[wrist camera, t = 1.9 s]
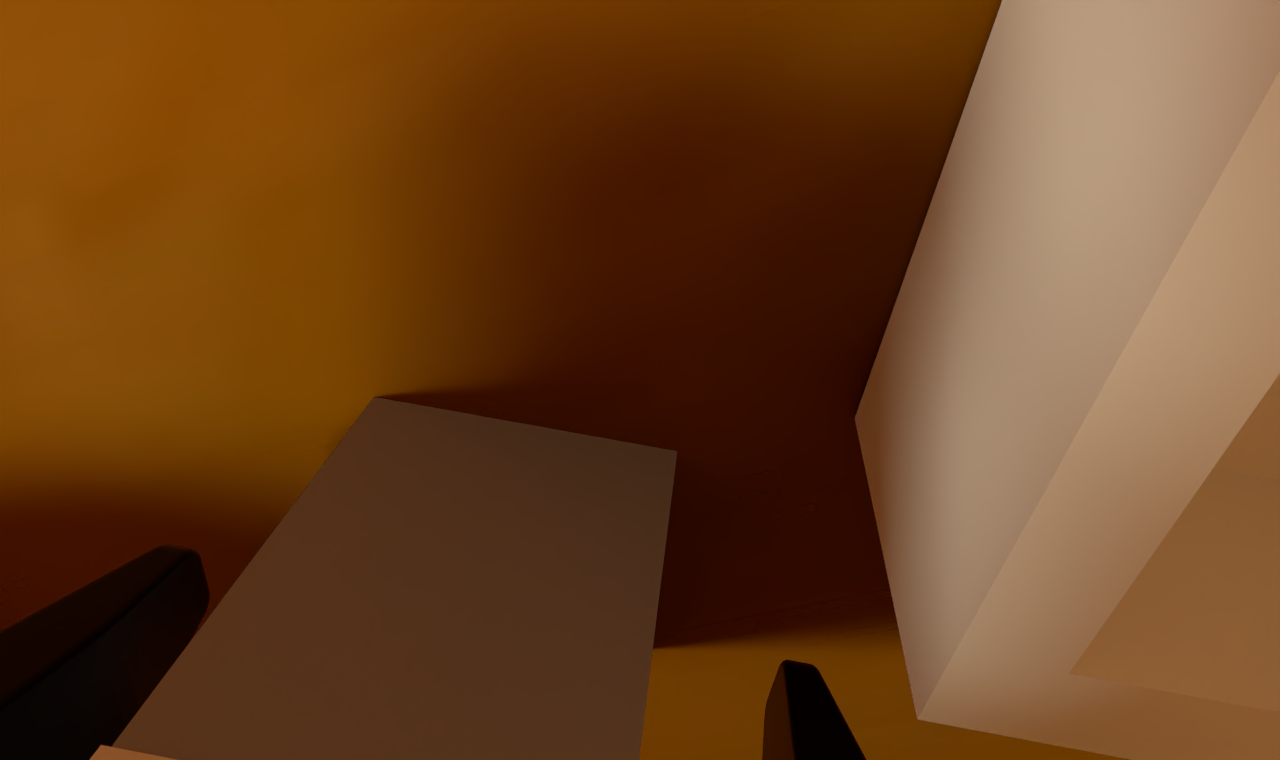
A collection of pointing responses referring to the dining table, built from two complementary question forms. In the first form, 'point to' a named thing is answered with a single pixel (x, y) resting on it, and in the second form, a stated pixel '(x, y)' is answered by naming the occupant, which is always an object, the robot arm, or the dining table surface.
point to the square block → (434, 605)
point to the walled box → (1095, 389)
